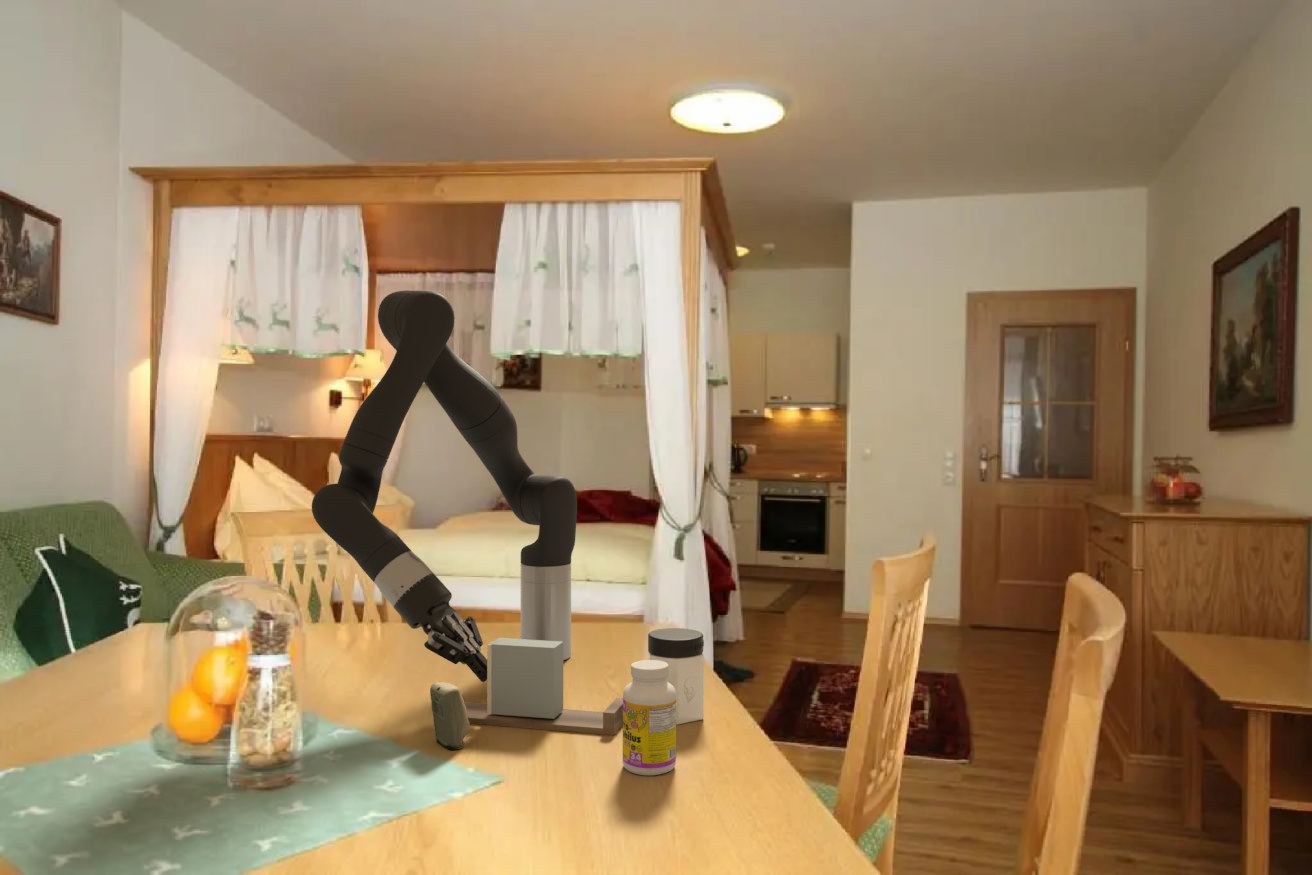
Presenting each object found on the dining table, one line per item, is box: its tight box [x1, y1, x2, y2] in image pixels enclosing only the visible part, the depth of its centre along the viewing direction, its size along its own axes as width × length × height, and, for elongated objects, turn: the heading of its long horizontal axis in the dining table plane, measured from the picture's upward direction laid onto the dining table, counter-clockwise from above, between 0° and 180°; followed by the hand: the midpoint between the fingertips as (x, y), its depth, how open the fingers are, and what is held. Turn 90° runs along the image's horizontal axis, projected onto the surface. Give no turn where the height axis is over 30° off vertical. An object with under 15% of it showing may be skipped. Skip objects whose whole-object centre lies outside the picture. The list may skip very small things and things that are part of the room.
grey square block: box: [486, 637, 564, 719], centre depth 133 cm, size 4×10×10 cm, turn 77°
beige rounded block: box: [429, 681, 470, 751], centre depth 123 cm, size 6×5×8 cm
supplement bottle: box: [622, 659, 677, 776], centre depth 115 cm, size 7×7×13 cm
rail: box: [464, 697, 623, 736], centre depth 133 cm, size 7×26×3 cm, turn 77°
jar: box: [647, 627, 705, 726], centre depth 135 cm, size 9×8×12 cm
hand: (489, 676), depth 135 cm, fingers closed
